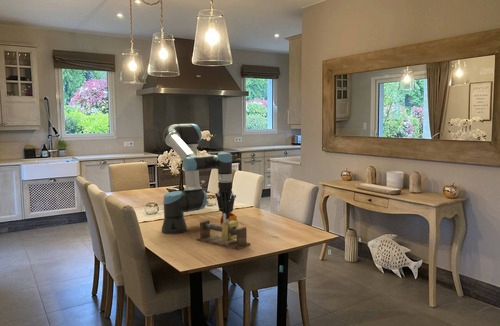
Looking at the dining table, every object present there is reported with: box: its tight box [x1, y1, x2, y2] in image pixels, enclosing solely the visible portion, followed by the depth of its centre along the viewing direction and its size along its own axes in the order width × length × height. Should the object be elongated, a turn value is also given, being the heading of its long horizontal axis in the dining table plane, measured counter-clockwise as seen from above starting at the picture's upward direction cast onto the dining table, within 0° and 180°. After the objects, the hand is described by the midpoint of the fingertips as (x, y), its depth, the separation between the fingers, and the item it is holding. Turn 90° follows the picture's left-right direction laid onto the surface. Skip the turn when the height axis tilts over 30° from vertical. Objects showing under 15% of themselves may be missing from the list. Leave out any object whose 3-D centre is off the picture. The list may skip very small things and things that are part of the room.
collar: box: [221, 220, 239, 241], centre depth 217 cm, size 4×9×9 cm, turn 144°
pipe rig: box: [196, 219, 251, 251], centre depth 220 cm, size 30×10×10 cm, turn 54°
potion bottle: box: [219, 212, 238, 226], centre depth 242 cm, size 10×10×15 cm
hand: (226, 224), depth 218 cm, fingers closed
